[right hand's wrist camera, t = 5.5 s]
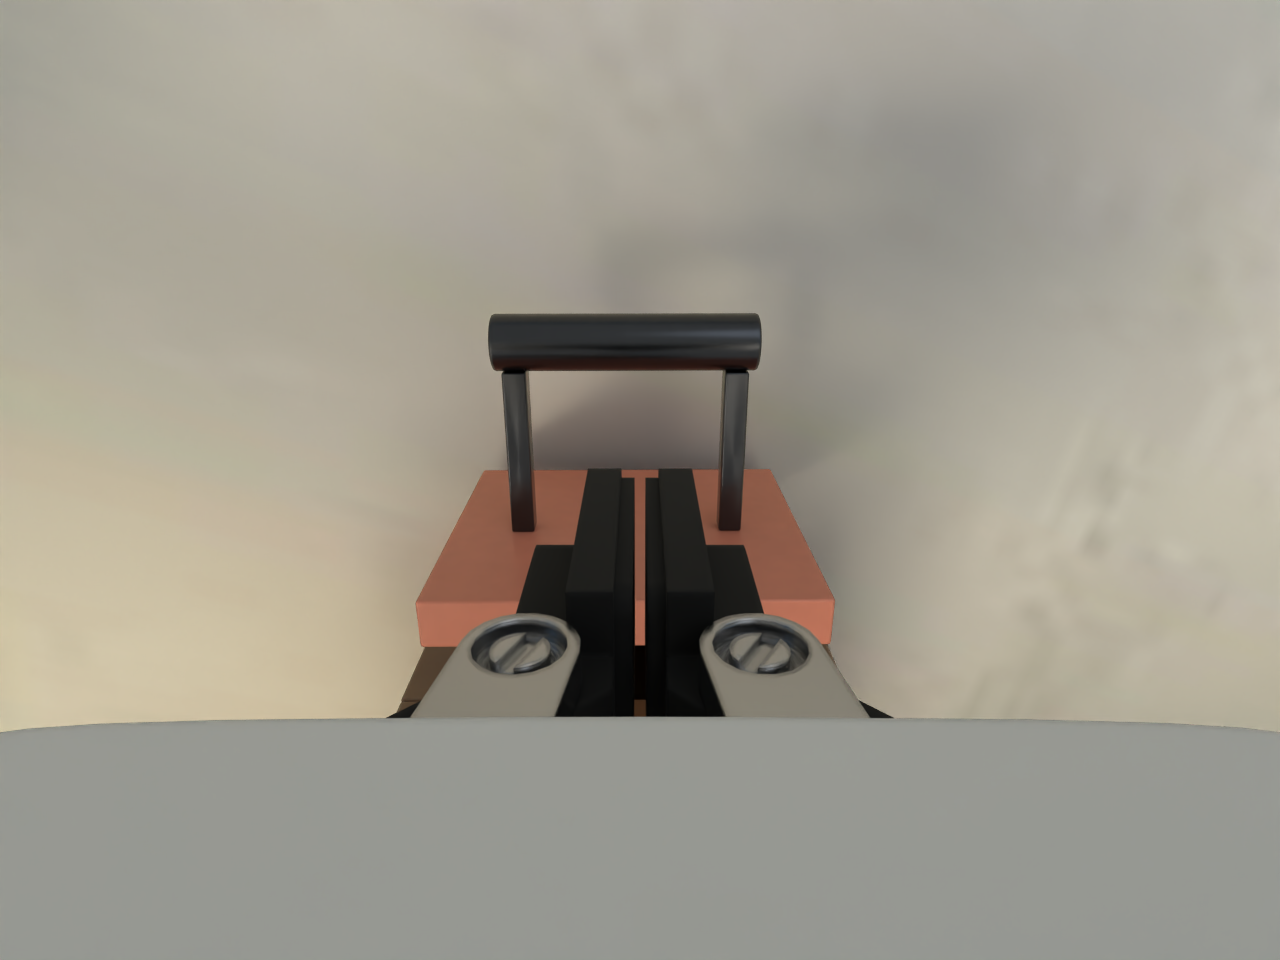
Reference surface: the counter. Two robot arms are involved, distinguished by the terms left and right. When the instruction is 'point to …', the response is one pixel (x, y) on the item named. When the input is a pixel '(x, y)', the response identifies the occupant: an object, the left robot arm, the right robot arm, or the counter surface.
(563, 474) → the drawer
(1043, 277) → the counter surface
